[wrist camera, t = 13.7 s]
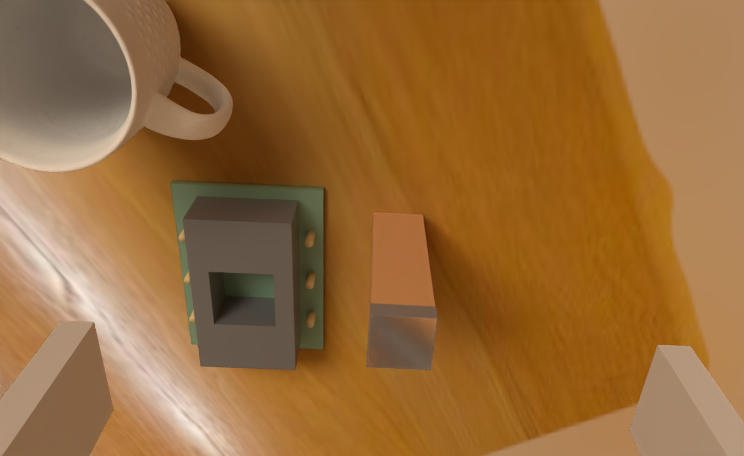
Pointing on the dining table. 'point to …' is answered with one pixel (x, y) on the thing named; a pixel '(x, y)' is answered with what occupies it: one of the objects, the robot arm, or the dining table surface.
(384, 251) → the plug
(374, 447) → the dining table surface
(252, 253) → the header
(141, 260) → the dining table surface
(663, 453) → the robot arm
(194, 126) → the mug
